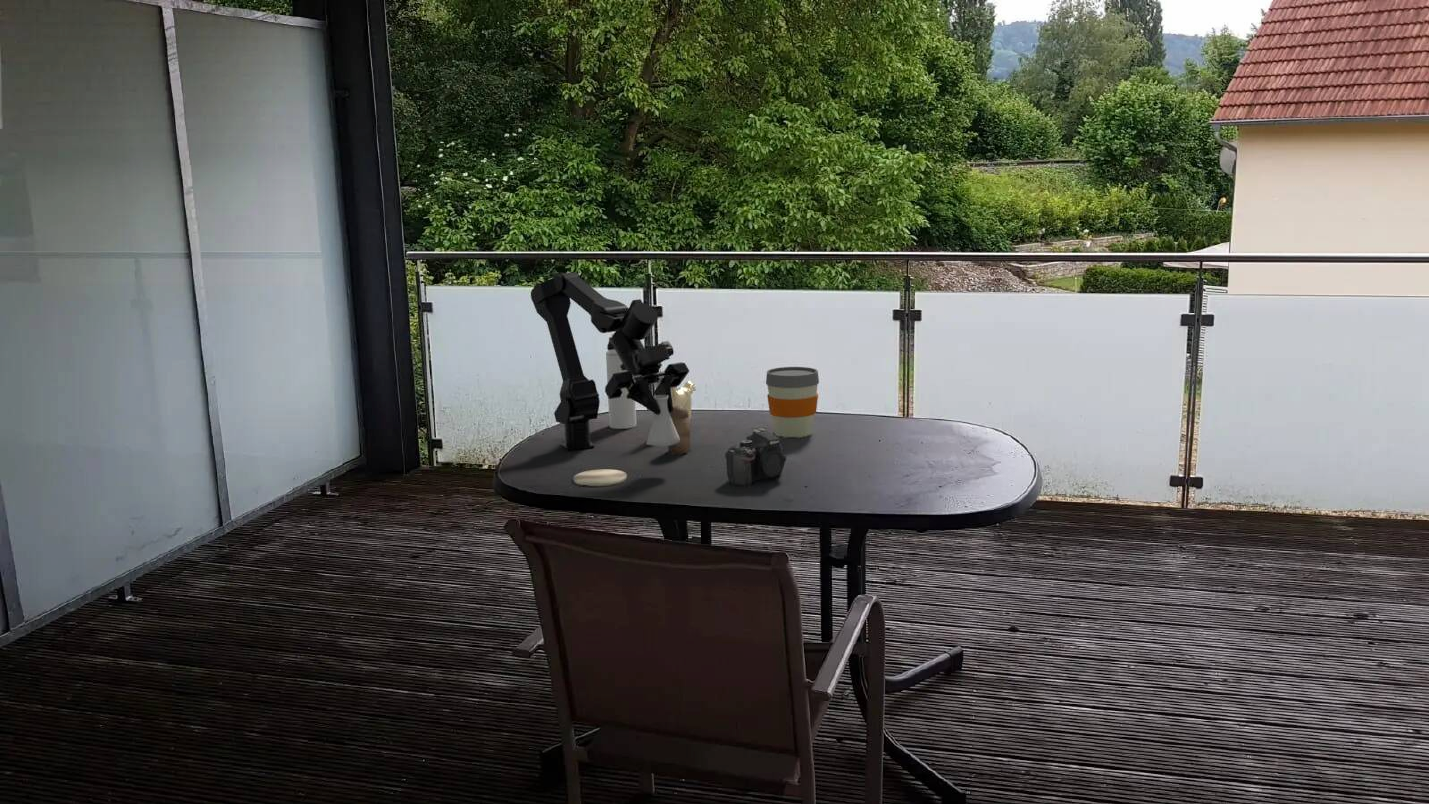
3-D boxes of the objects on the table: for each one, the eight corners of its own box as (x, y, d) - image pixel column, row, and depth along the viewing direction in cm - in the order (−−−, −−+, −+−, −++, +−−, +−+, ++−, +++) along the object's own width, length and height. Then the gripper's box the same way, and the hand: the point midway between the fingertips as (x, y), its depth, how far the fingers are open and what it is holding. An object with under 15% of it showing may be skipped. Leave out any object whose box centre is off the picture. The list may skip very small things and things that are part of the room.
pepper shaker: (665, 450, 260) (663, 405, 258) (686, 447, 262) (685, 403, 259) (672, 455, 255) (670, 409, 253) (693, 452, 257) (691, 407, 255)
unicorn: (688, 421, 289) (685, 354, 285) (702, 422, 287) (700, 354, 284) (652, 439, 271) (649, 368, 267) (667, 440, 269) (664, 368, 266)
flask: (672, 448, 235) (670, 400, 233) (640, 446, 238) (637, 399, 236) (685, 439, 242) (683, 393, 240) (654, 437, 245) (651, 392, 242)
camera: (762, 489, 227) (761, 440, 225) (721, 483, 232) (719, 435, 230) (796, 474, 237) (795, 427, 235) (755, 468, 243) (754, 422, 241)
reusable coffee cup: (828, 430, 274) (828, 368, 271) (804, 441, 264) (803, 377, 261) (783, 425, 281) (781, 365, 278) (757, 436, 271) (755, 373, 268)
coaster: (568, 475, 241) (568, 472, 241) (619, 469, 244) (619, 467, 244) (580, 488, 231) (580, 486, 231) (632, 482, 234) (632, 479, 234)
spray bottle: (635, 428, 282) (630, 328, 277) (608, 429, 282) (603, 328, 277) (637, 422, 289) (633, 324, 284) (610, 423, 289) (606, 325, 284)
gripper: (610, 335, 232) (644, 396, 226) (682, 324, 244) (717, 382, 238) (590, 368, 240) (623, 428, 234) (661, 356, 251) (694, 413, 245)
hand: (665, 412), depth 237 cm, fingers closed on flask, 3 cm apart
